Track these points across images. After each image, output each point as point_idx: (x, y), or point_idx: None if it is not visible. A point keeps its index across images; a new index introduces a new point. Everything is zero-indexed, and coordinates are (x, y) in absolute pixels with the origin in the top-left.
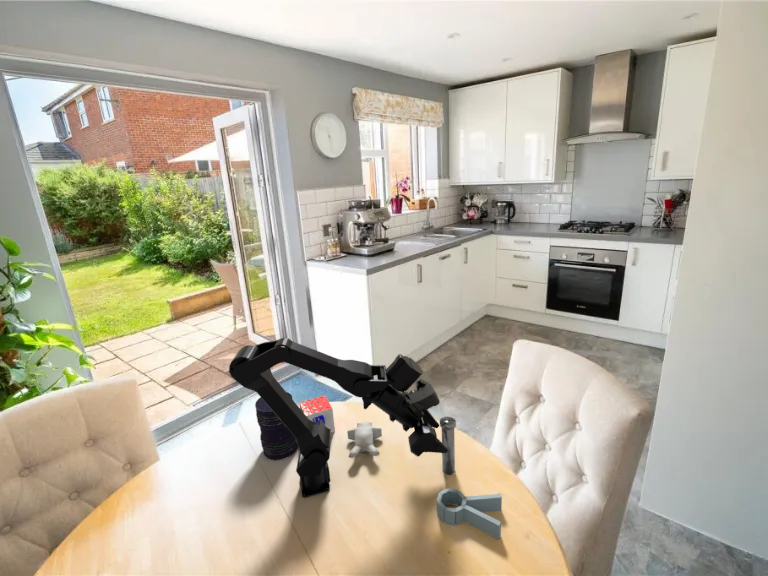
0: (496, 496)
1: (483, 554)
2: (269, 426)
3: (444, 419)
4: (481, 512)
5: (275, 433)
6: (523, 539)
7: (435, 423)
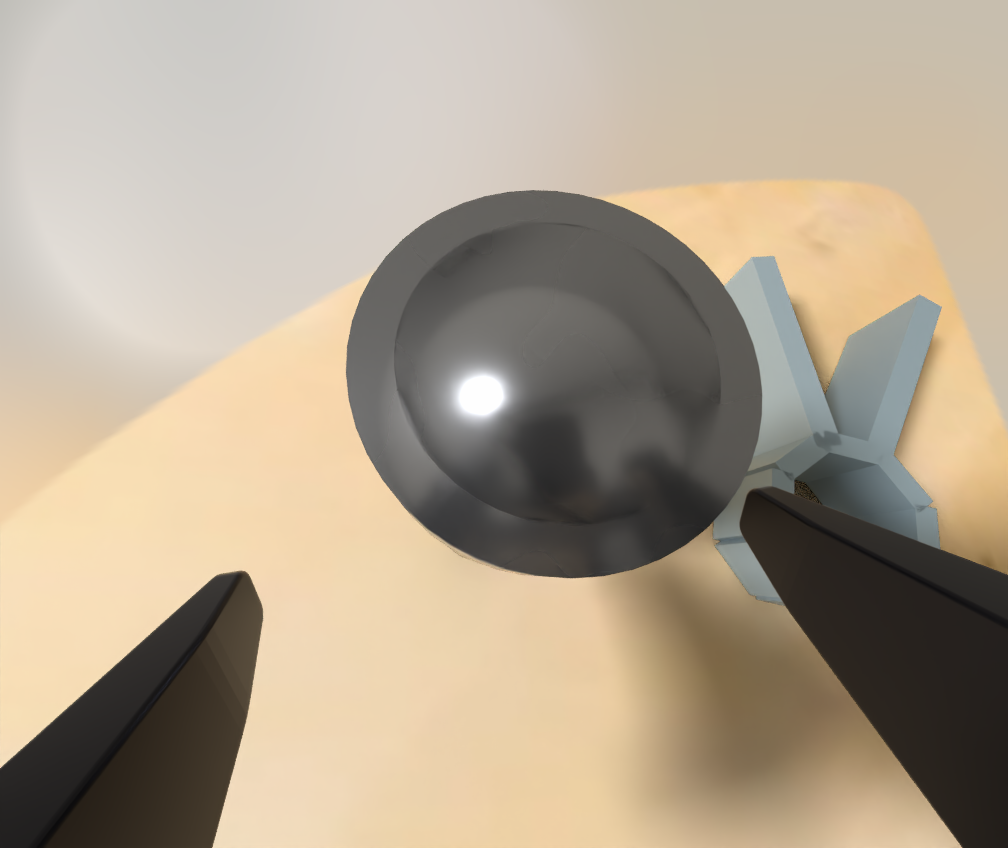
0: (775, 277)
1: (947, 417)
2: None
3: (490, 431)
4: (894, 368)
5: None
6: (839, 263)
7: (220, 645)
